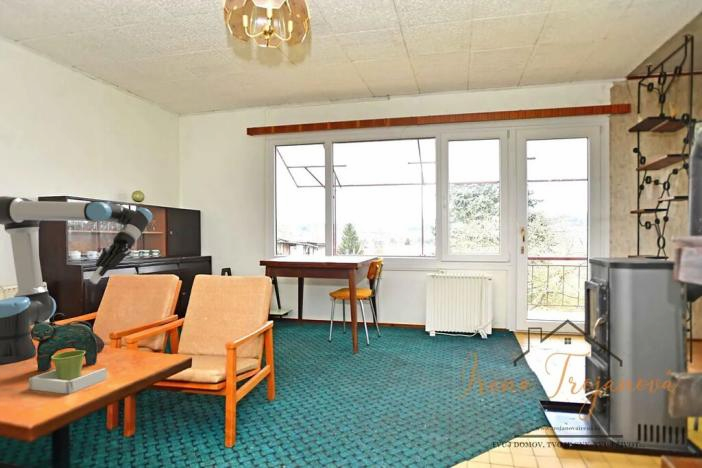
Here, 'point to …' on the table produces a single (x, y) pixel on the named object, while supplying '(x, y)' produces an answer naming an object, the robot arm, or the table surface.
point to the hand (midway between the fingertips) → (92, 281)
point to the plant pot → (68, 364)
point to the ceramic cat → (63, 341)
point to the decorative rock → (99, 342)
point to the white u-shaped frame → (65, 382)
